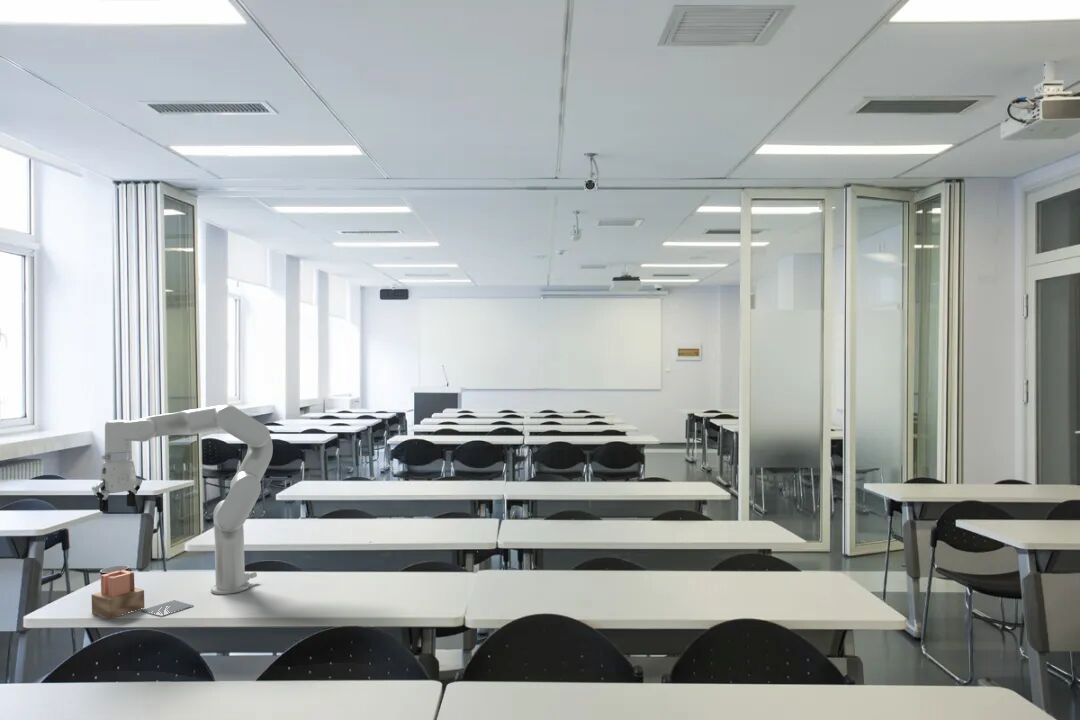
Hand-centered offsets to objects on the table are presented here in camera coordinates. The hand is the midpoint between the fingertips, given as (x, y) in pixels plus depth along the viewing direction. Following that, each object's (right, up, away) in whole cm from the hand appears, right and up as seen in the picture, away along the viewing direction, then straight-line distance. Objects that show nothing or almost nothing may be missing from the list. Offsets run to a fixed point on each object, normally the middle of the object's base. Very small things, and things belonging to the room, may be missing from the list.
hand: (117, 508), depth 244 cm
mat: (+19, -32, -4) cm, 37 cm away
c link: (+3, -26, -4) cm, 27 cm away
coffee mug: (-6, -33, +11) cm, 35 cm away
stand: (+3, -32, -4) cm, 33 cm away
